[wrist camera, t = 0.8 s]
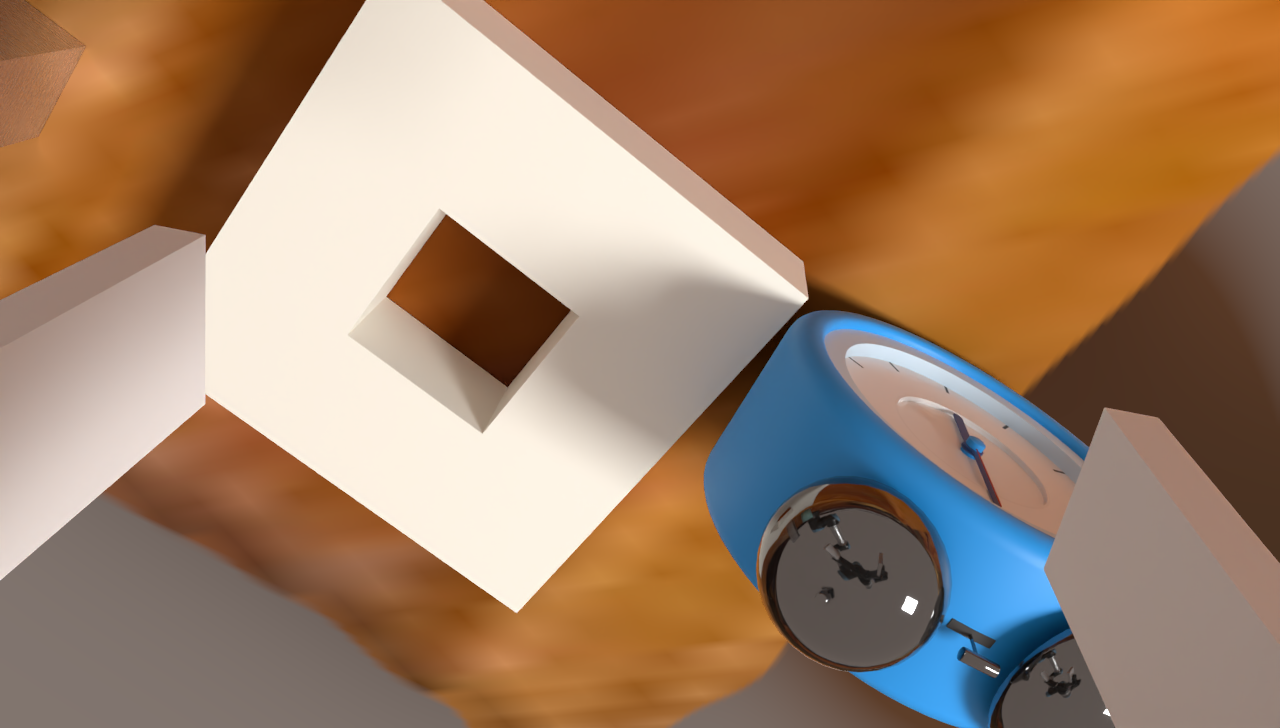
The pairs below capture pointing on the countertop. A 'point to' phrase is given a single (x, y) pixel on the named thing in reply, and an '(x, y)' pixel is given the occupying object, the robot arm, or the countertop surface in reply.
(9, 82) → the square bit
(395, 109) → the bore block
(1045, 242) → the countertop surface
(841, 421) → the alarm clock
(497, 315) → the countertop surface
